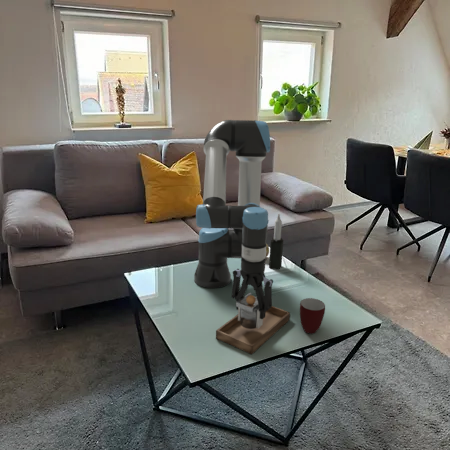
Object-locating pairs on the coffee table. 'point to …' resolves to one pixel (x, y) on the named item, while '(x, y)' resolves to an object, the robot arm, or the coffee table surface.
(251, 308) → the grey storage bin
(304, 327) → the mug
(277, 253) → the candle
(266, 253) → the fruit
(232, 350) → the coffee table surface
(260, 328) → the tray
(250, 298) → the ball
